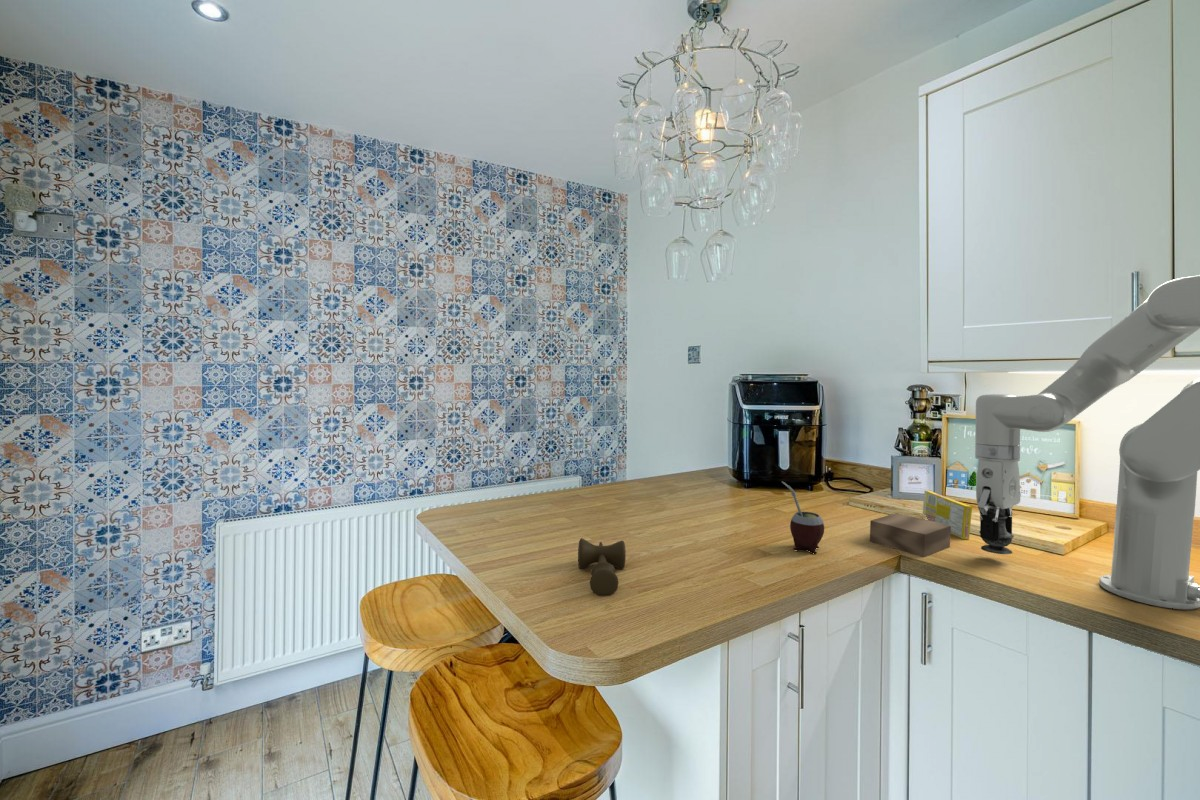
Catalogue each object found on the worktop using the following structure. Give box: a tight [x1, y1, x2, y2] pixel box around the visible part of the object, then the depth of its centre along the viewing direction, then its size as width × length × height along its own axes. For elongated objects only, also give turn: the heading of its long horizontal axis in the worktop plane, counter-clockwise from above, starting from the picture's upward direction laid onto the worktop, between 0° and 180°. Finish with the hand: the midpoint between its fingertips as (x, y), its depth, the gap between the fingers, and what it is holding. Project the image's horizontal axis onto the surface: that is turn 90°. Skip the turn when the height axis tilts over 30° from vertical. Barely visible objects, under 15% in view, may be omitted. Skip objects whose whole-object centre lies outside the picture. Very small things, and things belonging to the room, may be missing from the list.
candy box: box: [922, 490, 973, 540], centre depth 131 cm, size 16×2×8 cm, turn 179°
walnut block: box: [869, 512, 952, 558], centre depth 119 cm, size 12×12×5 cm
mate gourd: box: [781, 481, 825, 555], centre depth 115 cm, size 8×8×15 cm
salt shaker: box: [979, 503, 1015, 555], centre depth 109 cm, size 6×6×12 cm
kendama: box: [577, 538, 627, 597], centre depth 101 cm, size 6×10×20 cm
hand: (996, 535), depth 110 cm, fingers closed on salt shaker, 5 cm apart
